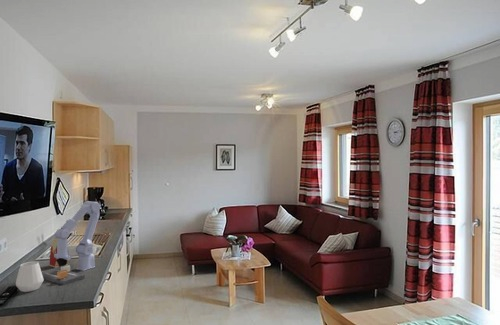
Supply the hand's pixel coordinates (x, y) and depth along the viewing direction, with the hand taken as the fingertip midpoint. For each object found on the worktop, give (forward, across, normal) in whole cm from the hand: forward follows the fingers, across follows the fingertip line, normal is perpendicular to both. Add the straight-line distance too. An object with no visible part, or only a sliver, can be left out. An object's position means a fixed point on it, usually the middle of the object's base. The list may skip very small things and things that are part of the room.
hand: (62, 270), depth 225 cm
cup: (+3, +6, -23) cm, 24 cm away
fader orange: (0, +11, -7) cm, 13 cm away
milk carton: (+3, -22, +11) cm, 25 cm away
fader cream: (0, +3, 0) cm, 3 cm away
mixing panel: (+3, +4, -4) cm, 6 cm away
